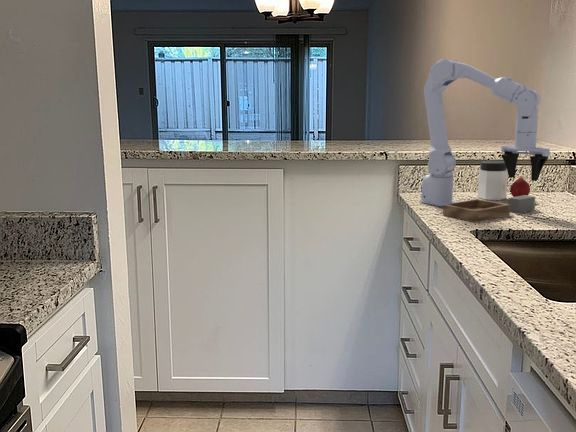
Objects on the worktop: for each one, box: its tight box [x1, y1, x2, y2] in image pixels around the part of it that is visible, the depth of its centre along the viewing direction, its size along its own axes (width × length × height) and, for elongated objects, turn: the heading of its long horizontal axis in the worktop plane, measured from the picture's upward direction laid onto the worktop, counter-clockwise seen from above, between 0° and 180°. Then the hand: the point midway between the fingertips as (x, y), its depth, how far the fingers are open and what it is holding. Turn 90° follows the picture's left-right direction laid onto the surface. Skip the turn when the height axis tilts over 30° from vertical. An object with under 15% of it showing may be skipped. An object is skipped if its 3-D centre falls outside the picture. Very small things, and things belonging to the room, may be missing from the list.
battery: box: [508, 195, 536, 214], centre depth 172 cm, size 4×8×4 cm, turn 123°
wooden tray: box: [442, 198, 511, 223], centre depth 167 cm, size 12×14×3 cm
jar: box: [477, 159, 509, 201], centre depth 191 cm, size 9×8×12 cm
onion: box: [509, 176, 531, 197], centre depth 185 cm, size 6×6×8 cm
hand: (522, 179), depth 170 cm, fingers open, 7 cm apart
